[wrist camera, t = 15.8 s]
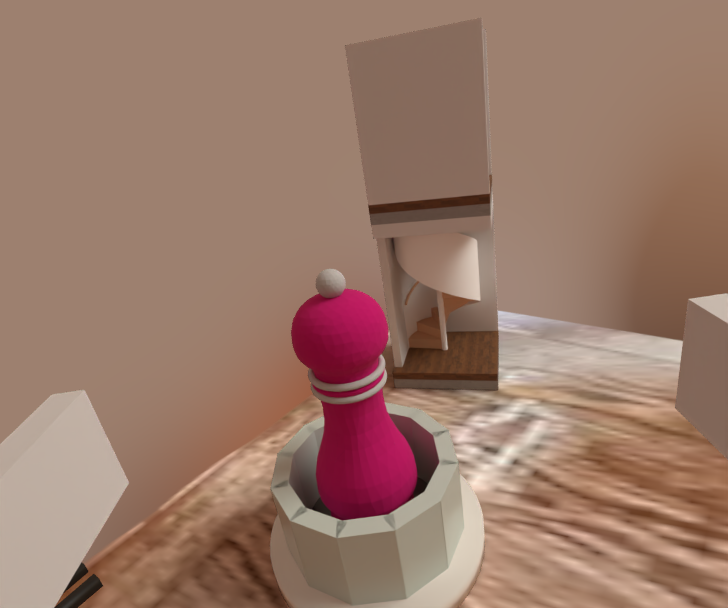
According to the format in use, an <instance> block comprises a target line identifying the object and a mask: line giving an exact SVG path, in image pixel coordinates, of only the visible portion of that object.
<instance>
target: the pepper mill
mask: <svg viewBox="0 0 728 608" xmlns="http://www.w3.org/2000/svg"><path fill="white" fill-rule="evenodd" d="M345 284H346V283H345V279H344V276H343V275H342V274H341V273H340V272H339V271H337V270H335V269H327V270H324V271H322V272H321V273H320V274H319V275H318V277H317V279H316V288H317V290H318V292H319V294H317V295H315V296H314V297H312V298H310V299H308V300H307V301H306V302H305V303H304V304H303V305H302V306H301V307H300V308H299V310H298V311H297V313H296V315H295V317H294V319H293V323H292V330H291V336H292V344H293V348H294V351H295V353H296V355H297V357H298V358H299V360H300V361H301V362H302V363H303V364H304V365H306V366H307V367H308V368H309V371H308V377H309V380H310V382H311V390H312V393H313V394H314V395H315V396H316V397H317V398H318V399H319V400H321V403H322V406H323V412H324V432H323V437H322V441H321V445H320V449H319V452H318V456H317V465H316V480H317V487H318V492H319V495H320V497H321V500H322V502H323V503H324V504H325V506H326V507H327V508H328V509H329V510H330V511H331V516H332V517H334V518H336V519H339V520H342V521H343V520H351V519H358V518H366V517H374V516H381V515H388V514H390V513H391V512H393V511H395V510H396V509H398V508H399V507H401V506H403V505H404V504H406V503H407V502H409V501H411V500H412V499H414V495H413V492H414V490H415V487H416V483H417V467H416V463H415V459H414V455H413V452H412V450H411V448H410V446H409V444H408V442H407V440H406V439H405V437H404V436H403V435H402V434H401V432H400V431H399V430H398V429H397V427H396V426H395V424H394V423H393V421H392V420H391V418H390V416H389V414H388V412H387V409H386V405H385V402H384V398H383V391H382V387H383V386H384V385H385V383H386V380H387V372H386V370H385V360H384V357H383V356H382V355H381V354H382V352H383V351H384V349H385V347H386V344H387V341H388V325H387V321H386V318H385V315H384V312H383V310H382V309H381V307H380V306H379V304H378V303H377V302H376V301H375V300H374V299H373V298H372V297H370V296H369V295H367V294H365V293H363V292H360V291H357V290H352V289H345Z"/></svg>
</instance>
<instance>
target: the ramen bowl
mask: <svg viewBox="0 0 728 608" xmlns="http://www.w3.org/2000/svg"><path fill="white" fill-rule="evenodd" d="M86 573H88V570H87V568H86V567H85V565H84V564H83V563H82V562H81V564H80V565H79V567H78V569H77V570H76V572H75V574H74V575H73V577H72V579H71V580H70V582H69V584H68V585H67V587H66V589H65V590H64V592H65V591H66V590H68V589H69V588H70V587H71V586H72V585H74V584H75V583H76V582H77V581H78V580H79V579H81V578H82V577H83V576H84V575H85V574H86ZM102 586H103V585H102V583H101V581H100V580H99V578H98V577H97V576H96V575H95V574H93V575H92V576H91V577H89V578H88V579H87V580H86V581H85V582H84V583H82V584H81V585H80V586H79V587H78V588H77V589H75V590H74V591H73V592H72V593H71V594H70V595H68V596H67V597H66V598H65V599H64V600H63V601H61V602H60V603H59V604H58V605H57V606H56V607H54V608H78V607H79V606H80V605H81V604H82V603H83V602H85V601H86V600H87V599H88V598H89V597H90V596H92V595H93V594H94V593H95V592H96V591H98V590H99V589H100V588H101V587H102ZM64 592H63V593H64Z"/></svg>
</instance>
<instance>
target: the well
mask: <svg viewBox="0 0 728 608" xmlns="http://www.w3.org/2000/svg"><path fill="white" fill-rule="evenodd" d="M385 405H386V409H387V412H388V414H389V416H390V418H391V420H392V421H393V423H394V424H395V426H396V427H397V429H398V430H399V431H400V432H401V434H402V435H403V436H404V437H405V439H406V440H407V442H408V444H409V446H410V448H411V450H412V452H413V455H414V459H415V463H416V467H417V483H416V487H415V490H414V492H413V495H414V499H412V500H411V501H409V502H407V503H406V504H404V505H403V506H401V507H399V508H398V509H396V510H395V511H393V512H391V513H390V514H388V515H381V516H374V517H366V518H358V519H351V520H343V521H342V520H339V519H336V518H334V517H332V516H331V511H330V510H329V509H328V508H327V507H326V506H325V504H324V503H323V502H322V500H321V497H320V495H319V492H318V487H317V480H316V465H317V456H318V452H319V449H320V445H321V441H322V437H323V432H324V416H322V417H320V418H318V419H316V420H314V421H312V422H310V423H308V424H306V425H304V426H303V427H302V428H301V429H300V430H299V431H298V432H297V433H296V435H295V436H294V437H293V438H292V439H291V440H290V441H289V442H288V443H287V444H286V445H285V446H284V447H283V448H282V450H281V451H280V452H279V453H278V455H277V459H276V464H275V469H274V474H273V478H272V483H271V488H270V489H271V492H272V496H273V499H274V502H275V506H276V509H277V512H278V514H277V516H276V519H275V521H274V525H273V528H272V532H271V540H270V558H271V562H272V567H273V571H274V574H275V577H276V580H277V583H278V586H279V588H280V591H281V593H282V596H283V597H284V599H285V601H286V603H287V604H288V606H289V607H290V608H458V607H459V606H460V605H461V603H462V602H463V601H464V600H465V598H466V597H467V596H468V594H469V593H470V591H471V590H472V588H473V586H474V585H475V583H476V580H477V578H478V576H479V573H480V571H481V567H482V563H483V559H484V550H485V537H484V523H483V515H482V510H481V506H480V504H479V501H478V499H477V496H476V494H475V493H474V491H473V489H472V488H471V486H470V485H469V484H468V482H467V481H466V480H465V479H464V477H463V476H462V475H460V473H459V463H458V460H457V456H456V453H455V450H454V446H453V443H452V440H451V436H450V433H449V430H448V429H446V428H445V427H444V426H442V425H441V424H440V423H438V422H437V421H435V420H434V419H433V418H431V417H430V416H429V415H427V414H426V413H425V412H423V411H422V410H420V409H416V408H411V407H406V406H401V405H396V404H391V403H385Z"/></svg>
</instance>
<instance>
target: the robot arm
mask: <svg viewBox="0 0 728 608" xmlns="http://www.w3.org/2000/svg"><path fill="white" fill-rule="evenodd" d="M675 408H676V409H677V410H678V411H679V412H680V413H681V414H682V415H683V416H684V417H685V418H686V419H687V420H688V421H689V422H690V423H691V424H692V425H693V426H694V427H695V428H696V429H697V430H698V431H699V432H700V433H701V434H702V435H703V436H704V437H705V438H706V439H707V440H708V441H709V442H710V443H711V444H712V445H713V446H715V447H716V448H717V449H718V450H719V451H720V452H721V453H722V454H723V455H724V456H725V457H726V458H727V459H728V294H719V295H713V296H707V297H699V298H693V299H688V306H687V314H686V322H685V330H684V339H683V347H682V355H681V363H680V372H679V380H678V388H677V396H676V405H675ZM128 484H129V482H128V480H127V478H126V476H125V473H124V471H123V470H122V467H121V465H120V463H119V461H118V459H117V457H116V455H115V453H114V451H113V449H112V447H111V444H110V442H109V440H108V438H107V436H106V434H105V432H104V430H103V428H102V426H101V424H100V422H99V419H98V417H97V415H96V413H95V411H94V409H93V407H92V405H91V403H90V401H89V399H88V397H87V394H86V392H85V390H80V391H73V392H66V393H60V394H53V395H51V396H50V397H49V398H48V399H47V400H46V401H45V402H44V403H43V404H42V405H41V406H39V407H38V408H37V409H36V410H35V411H34V412H33V413H32V414H31V415H30V416H29V417H28V418H27V419H26V420H25V421H24V422H23V423H22V424H21V425H20V426H19V427H18V428H17V429H16V430H15V431H14V432H13V433H11V435H9V436H8V437H7V438H6V439H5V440H4V441H3V442H2V443H1V444H0V608H54V607H55V606H56V604H57V602H58V600H59V599H60V597H61V595H62V594H63V592H64V590H65V589H66V587H67V585H68V584H69V582H70V580H71V579H72V577H73V575H74V574H75V572H76V570H77V569H78V567H79V565H80V564H81V562H82V560H83V559H84V557H85V555H86V554H87V552H88V550H89V549H90V547H91V545H92V544H93V542H94V540H95V539H96V537H97V535H98V534H99V532H100V530H101V529H102V527H103V525H104V524H105V522H106V520H107V519H108V517H109V515H110V514H111V512H112V510H113V509H114V507H115V505H116V504H117V502H118V500H119V499H120V497H121V495H122V494H123V492H124V490H125V488H126V487H127V485H128Z"/></svg>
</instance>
